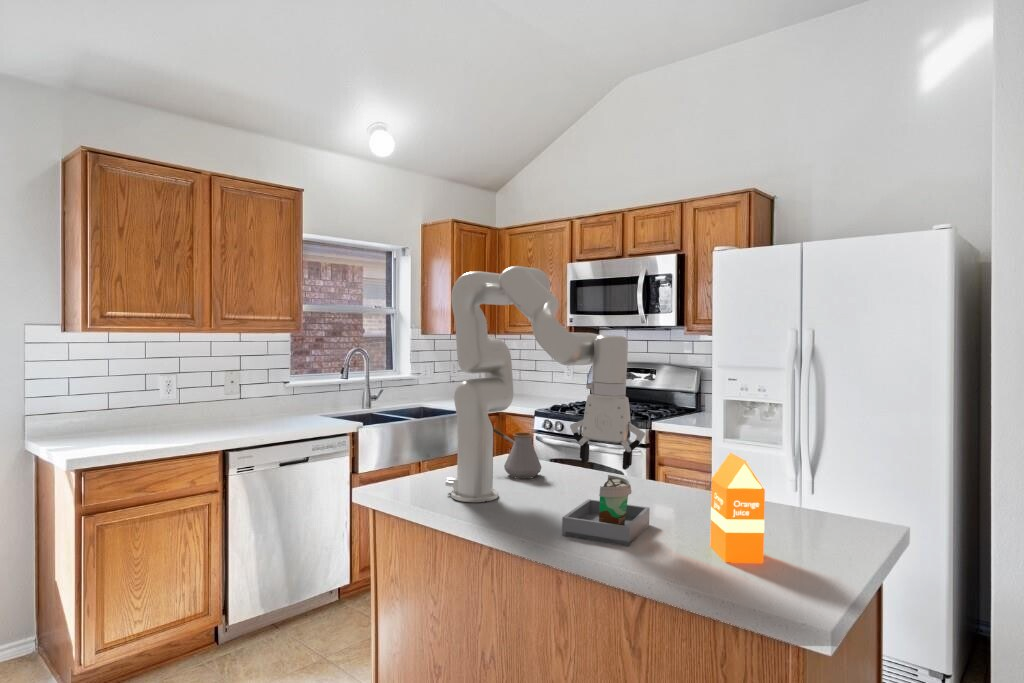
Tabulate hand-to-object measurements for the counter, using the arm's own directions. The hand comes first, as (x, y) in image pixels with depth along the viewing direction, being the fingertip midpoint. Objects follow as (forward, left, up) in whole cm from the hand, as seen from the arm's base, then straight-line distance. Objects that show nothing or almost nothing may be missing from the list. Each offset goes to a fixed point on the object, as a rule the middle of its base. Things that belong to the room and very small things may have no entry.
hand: (605, 465), depth 144 cm
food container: (+3, 0, -14) cm, 14 cm away
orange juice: (+29, -3, -15) cm, 33 cm away
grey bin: (+1, 0, -15) cm, 15 cm away
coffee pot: (-43, +39, -15) cm, 60 cm away
